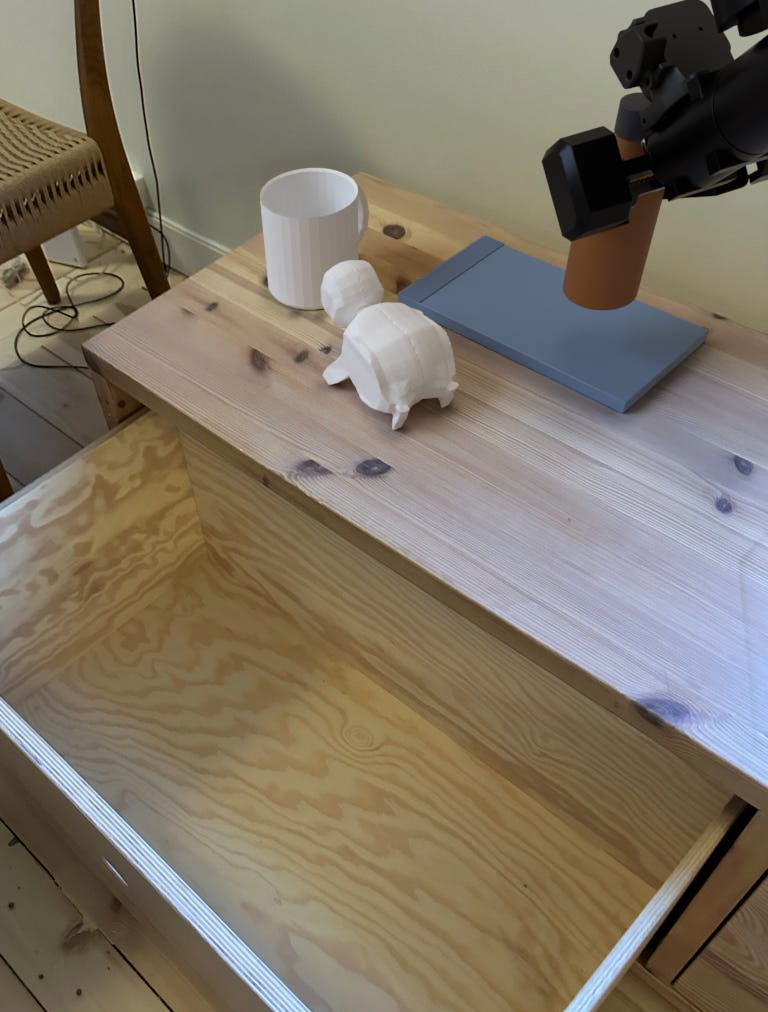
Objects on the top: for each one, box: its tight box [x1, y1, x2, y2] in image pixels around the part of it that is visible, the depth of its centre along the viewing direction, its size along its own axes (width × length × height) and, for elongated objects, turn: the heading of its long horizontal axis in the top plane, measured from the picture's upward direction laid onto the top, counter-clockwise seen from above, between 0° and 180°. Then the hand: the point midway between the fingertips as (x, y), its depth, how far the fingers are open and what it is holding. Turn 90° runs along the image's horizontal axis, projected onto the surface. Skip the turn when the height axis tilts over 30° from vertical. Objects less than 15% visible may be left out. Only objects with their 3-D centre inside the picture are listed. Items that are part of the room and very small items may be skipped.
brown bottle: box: [563, 91, 665, 310], centre depth 69 cm, size 6×6×14 cm
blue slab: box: [397, 234, 709, 414], centre depth 83 cm, size 25×13×1 cm, turn 45°
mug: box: [259, 167, 370, 311], centre depth 86 cm, size 12×9×9 cm
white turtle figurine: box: [321, 259, 460, 431], centre depth 77 cm, size 9×8×15 cm
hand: (607, 204), depth 70 cm, fingers closed on brown bottle, 6 cm apart
